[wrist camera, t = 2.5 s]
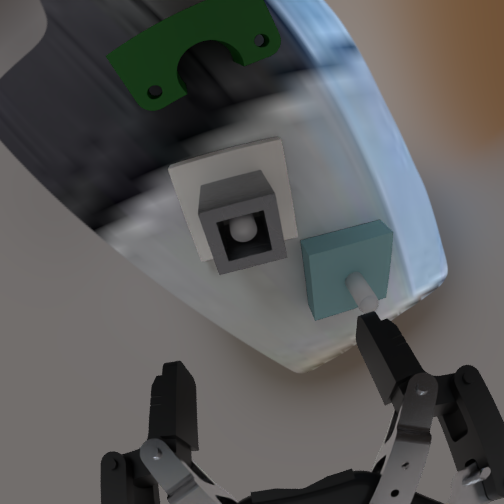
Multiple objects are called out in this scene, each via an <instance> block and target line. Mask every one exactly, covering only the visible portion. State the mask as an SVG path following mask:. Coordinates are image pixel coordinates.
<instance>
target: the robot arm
mask: <svg viewBox="0 0 504 504" xmlns="http://www.w3.org/2000/svg"><path fill="white" fill-rule="evenodd" d="M356 342H357V345H358V348H359V350H360V352H361V355H362V356H363V359H364V361H365V363H366V365H367V367H368V369H369V371H370V374H371V375H372V378H373V380H374V382H375V384H376V387H377V388H378V391H379V393H380V395H381V398H382V400H383V402H384V404H385V405H387V404H389V403H392V404H393V406H394V411H393V414H392V417H391V421H390V424H389V427H388V430H387V433H386V436H385V439H384V442H383V444H382V447H381V449H380V451H379V453H378V455H377V457H376V460H375V462H374V465H373V467H372V470H371V472H369V471H352V469H349V470H346V471H343V472H340V473H337V474H334V475H331V476H327V477H326V478H324V479H322V480H320V481H318V482H316V483H314V484H312V485H310V486H308V487H306V488H303V489H271V490H264V491H258V492H251V496H248V497H247V498H244V499H242V500H241V501H238V500H237V499H235V498H234V497H233V496H232V495H231V494H230V493H228V492H227V491H226V490H225V489H223V488H222V487H220V486H219V485H218V484H216V483H215V482H214V481H213V480H212V479H211V478H210V477H209V476H208V475H207V474H206V473H205V472H204V471H203V470H202V469H201V468H200V467H199V466H198V465H197V464H196V463H195V461H194V460H192V458H191V451H198V450H199V447H198V430H197V402H196V384H195V381H194V378H193V377H192V375H191V374H190V373H189V371H188V370H187V369H186V368H185V366H184V365H183V363H182V362H181V361H175V362H169V363H164V365H163V371H162V375H161V376H156V378H155V380H154V383H153V384H152V389H151V403H150V405H151V406H150V415H149V433H148V439H147V441H145V442H144V443H143V445H142V446H141V448H140V449H138V450H135V451H132V452H129V453H126V454H122V455H121V454H120V453H118V452H108V453H107V454H105V455H104V456H103V458H102V461H101V504H160V499H159V489H158V484H160V485H161V487H162V488H163V489H164V490H165V492H166V493H167V495H168V497H167V500H168V502H169V503H170V504H443V503H441V502H438V501H436V500H434V499H431V498H429V497H426V496H424V495H422V494H419V493H417V492H415V491H416V488H417V486H418V483H419V480H420V477H421V474H422V471H423V468H424V465H425V462H426V458H427V455H428V452H429V448H430V444H431V439H432V437H431V434H430V428H431V424H432V419H433V417H436V416H437V417H438V419H439V422H440V424H441V427H442V429H443V432H444V434H445V437H446V440H447V442H448V445H449V448H450V451H451V453H452V456H453V459H454V462H455V465H456V468H457V471H458V472H457V473H456V474H455V476H454V478H453V480H452V483H451V489H452V492H451V496H450V499H449V500H448V502H447V503H446V504H488V503H490V502H491V501H494V500H497V499H501V498H504V422H503V420H502V417H501V415H500V413H499V411H498V409H497V406H496V404H495V402H494V400H493V398H492V396H491V394H490V392H489V390H488V388H487V386H486V384H485V382H484V380H483V379H482V377H481V375H480V373H479V371H478V370H477V369H476V368H475V367H473V366H471V365H465V366H462V367H460V368H459V369H458V370H457V372H456V373H453V374H448V375H442V376H433V375H431V374H428V373H427V372H425V371H424V370H423V369H422V367H421V365H420V364H419V362H418V360H417V359H416V357H415V355H414V353H413V352H412V350H411V348H410V347H409V345H408V344H407V343H406V340H405V339H404V337H403V336H402V334H401V332H400V331H399V329H398V327H397V326H396V325H395V324H394V323H392V322H391V321H390V320H388V319H384V320H382V321H381V320H380V318H379V317H378V315H377V314H376V312H374V311H372V312H369V313H366V314H363V315H360V316H358V319H357V329H356ZM404 469H405V470H404Z"/></svg>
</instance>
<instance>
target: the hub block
mask: <svg viewBox="0 0 504 504" xmlns="http://www.w3.org/2000/svg"><path fill="white" fill-rule="evenodd" d="M300 241H301V248H302V256H303V263H304V271H305V279H306V287H307V296H308V305H309V307H310V309H311V312H312V314H313V317H314V319H315V321H316V320H319V319H323V318H326V317H329V316H332V315H336V314H339V313H342V312H345V311H348V310H351V309H354V308H357V307H359V309H360V310H361V311H362V312H364V313H369V312H372V311H375V310H376V309H377V307H378V300H380V299H383V298H386V293H387V287H388V279H389V271H390V263H391V253H392V242H393V232H392V231H391V230H390V229H389V228H388V227H387V226H386V225H385V224H384V223H383V222H382V221H381V220H377V221H373V222H370V223H366V224H362V225H358V226H354V227H350V228H346V229H343V230H339V231H335V232H331V233H327V234H323V235H320V236H316V237H312V238H308V239H304V240H300Z"/></svg>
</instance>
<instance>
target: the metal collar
mask: <svg viewBox="0 0 504 504" xmlns="http://www.w3.org/2000/svg"><path fill="white" fill-rule="evenodd" d="M258 211H259V215H260V216H258V217H254V220H255V223H256V226H257V233H256V235H255V236H254V238H253V239H251V240H249V241H246V242H240V241H237V240H235V239H234V238H233V237H232V235H231V232H230V225H229V224H227V225H224V222H223V221H224V220H227V219H231V218H235V217H239V216H243V215H246V214H250V213H254V212H258ZM198 216H199V219H200V222H201V225H202V228H203V230H204V233H205V236H206V239H207V242H208V245H209V247H210V250H211V253H212V256H213V259H214V261H215V264H216V267H217V270H218V272H219V275H221V274H225V273H229V272H233V271H237V270H241V269H245V268H249V267H252V266H256V265H260V264H264V263H268V262H272V261H275V260H279V259H283V258H287V254H286V248H285V243H284V237H283V232H282V226H281V221H280V216H279V210H278V205H277V200H276V195H275V192H274V191H273V189H272V187H271V186H270V184H269V182H268V181H267V179H266V177H265V176H264V174H263V173H262V171H261V170H257V171H253V172H249V173H245V174H241V175H237V176H233V177H230V178H226V179H222V180H218V181H215V182H211V183H208V184H204V185H201V187H200V196H199V206H198Z"/></svg>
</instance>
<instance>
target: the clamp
mask: <svg viewBox="0 0 504 504" xmlns="http://www.w3.org/2000/svg"><path fill="white" fill-rule="evenodd" d="M258 34H260V35H262V36H263V38H264V43H263V44H262V45H261V46H256V45H255V43H254V38H255V37H256V36H257V35H258ZM206 40H214V41H217V42H220V43H221V44H223V45H224V46H226V47H227V48H228V50H229V51H230V53H231V55H232V58H233V61H234V62H236V63H238V64H240V65H242V66H247V65H249V64H251V63H254V62H256V61H259V60H261V59H264V58H267V57H269V56H271V55H273V54H275V53H276V52H277V50H278V49H279V47H280V44H281V38H280V34H279V32H278V30H277V28H276V26H275V23H274V21H273V19H272V17H271V15H270V13H269V11H268V8H267V6H266V4H265V2H264V0H205V1H203V2H201V3H198V4H196V5H194V6H191V7H189V8H187V9H185V10H183V11H181V12H179V13H176V14H174V15H172V16H170V17H168V18H167V19H165V20H163V21H161V22H159V23H157V24H155V25H154V26H152V27H150V28H148V29H147V30H145V31H143V32H142V33H140V34H138V35H137V36H135V37H133V38H132V39H130V40H129V41H127V42H126V43H124V44H122V45H121V46H119V47H118V48H117V49H115V50H114V51H112V52H111V53H109V54H108V55H107V56H106V57H107V59H108V60H109V62H110V63H111V65H112V66H113V68H114V69H115V71H116V72H117V74H118V75H119V77H120V78H121V80H122V81H123V83H124V84H125V86H126V87H127V89H128V90H129V91H130V93H131V94H132V96H133V97H134V99H135V100H136V102H137V103H138V105H139V106H140V107H142V108H143V109H146V110H150V111H155V110H159V109H162V108H164V107H165V106H167V105H169V104H170V103H172V102H174V101H176V100H177V99H179V98H181V97H183V96H185V95H186V94H187V87H186V84H185V83H184V82H183V81H182V79H181V78H180V76H179V74H178V70H177V65H178V62H179V60H180V58H181V56H182V55H183V54H184V52H185V51H186V50H187V49H189V48H190V47H191V46H193V45H194V44H196V43H199V42H202V41H206ZM153 85H158V86H160V87H161V88H162V93H161V94H160V95H157V96H154V95H151V94H150V92H149V88H150V87H151V86H153Z"/></svg>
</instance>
